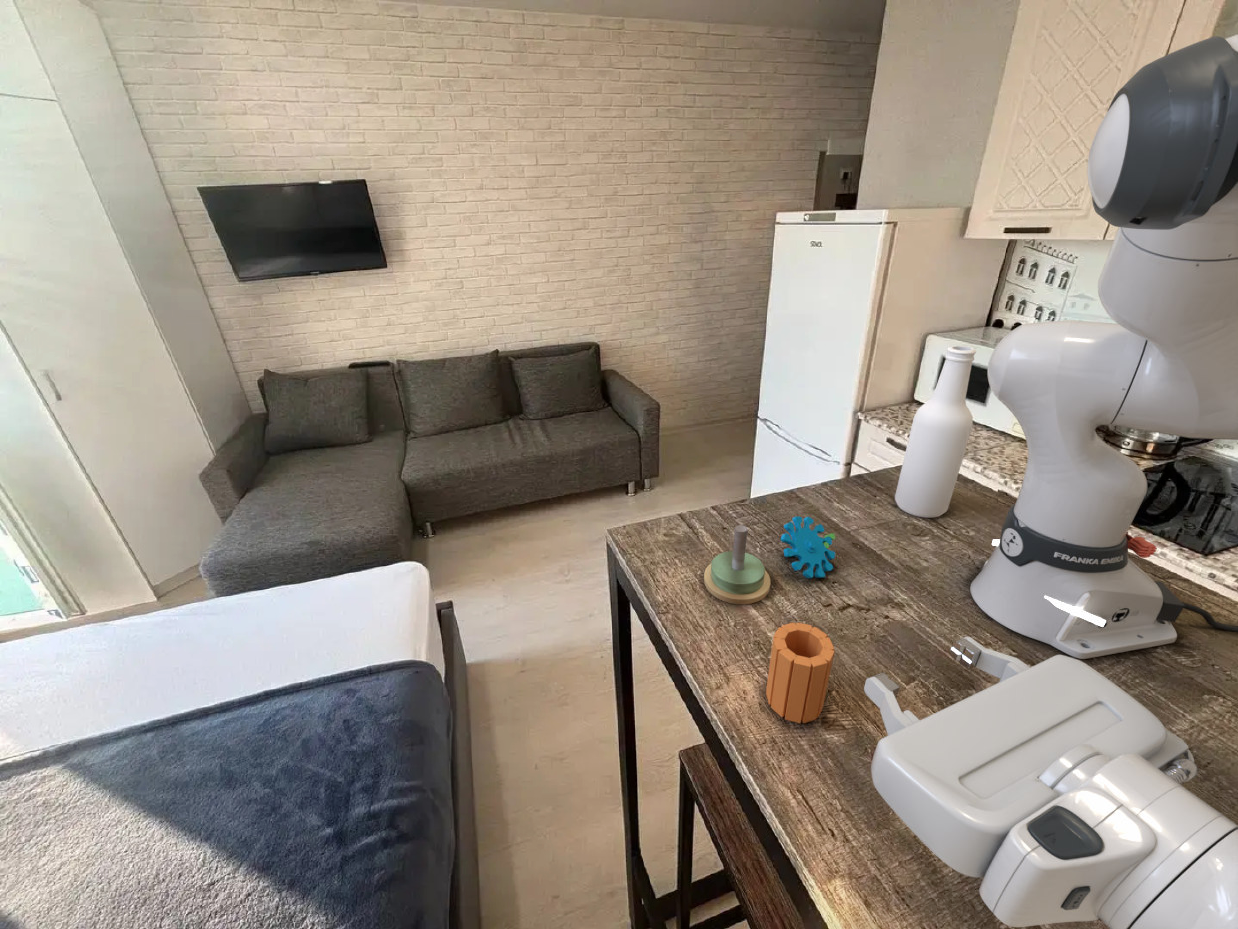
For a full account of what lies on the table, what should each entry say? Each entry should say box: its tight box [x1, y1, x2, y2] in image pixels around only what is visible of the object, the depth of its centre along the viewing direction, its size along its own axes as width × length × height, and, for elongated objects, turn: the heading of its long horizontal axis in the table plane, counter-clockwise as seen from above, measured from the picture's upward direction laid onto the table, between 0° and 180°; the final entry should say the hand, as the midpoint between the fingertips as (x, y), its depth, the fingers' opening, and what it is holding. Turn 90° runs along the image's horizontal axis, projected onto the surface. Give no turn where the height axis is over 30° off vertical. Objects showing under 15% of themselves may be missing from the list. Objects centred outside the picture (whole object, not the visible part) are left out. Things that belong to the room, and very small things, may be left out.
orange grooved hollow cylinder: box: [765, 621, 835, 724], centre depth 58 cm, size 6×6×9 cm
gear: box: [780, 516, 836, 580], centre depth 82 cm, size 11×6×10 cm
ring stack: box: [703, 524, 771, 605], centre depth 77 cm, size 10×10×10 cm
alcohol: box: [894, 345, 977, 519], centre depth 89 cm, size 9×9×30 cm
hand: (916, 661), depth 42 cm, fingers open, 8 cm apart
